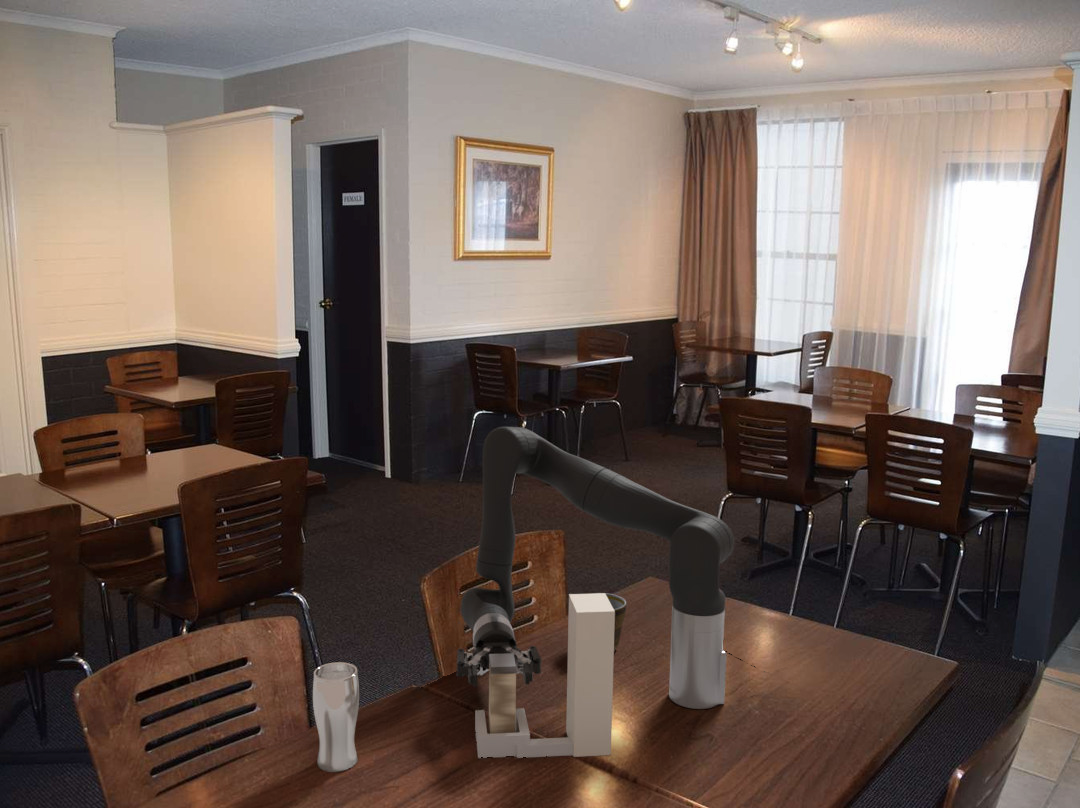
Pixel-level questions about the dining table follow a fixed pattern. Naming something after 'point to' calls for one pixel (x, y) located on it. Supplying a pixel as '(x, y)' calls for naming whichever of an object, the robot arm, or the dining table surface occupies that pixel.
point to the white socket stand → (571, 691)
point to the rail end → (502, 693)
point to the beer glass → (336, 714)
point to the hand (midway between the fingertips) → (501, 680)
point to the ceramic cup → (617, 615)
